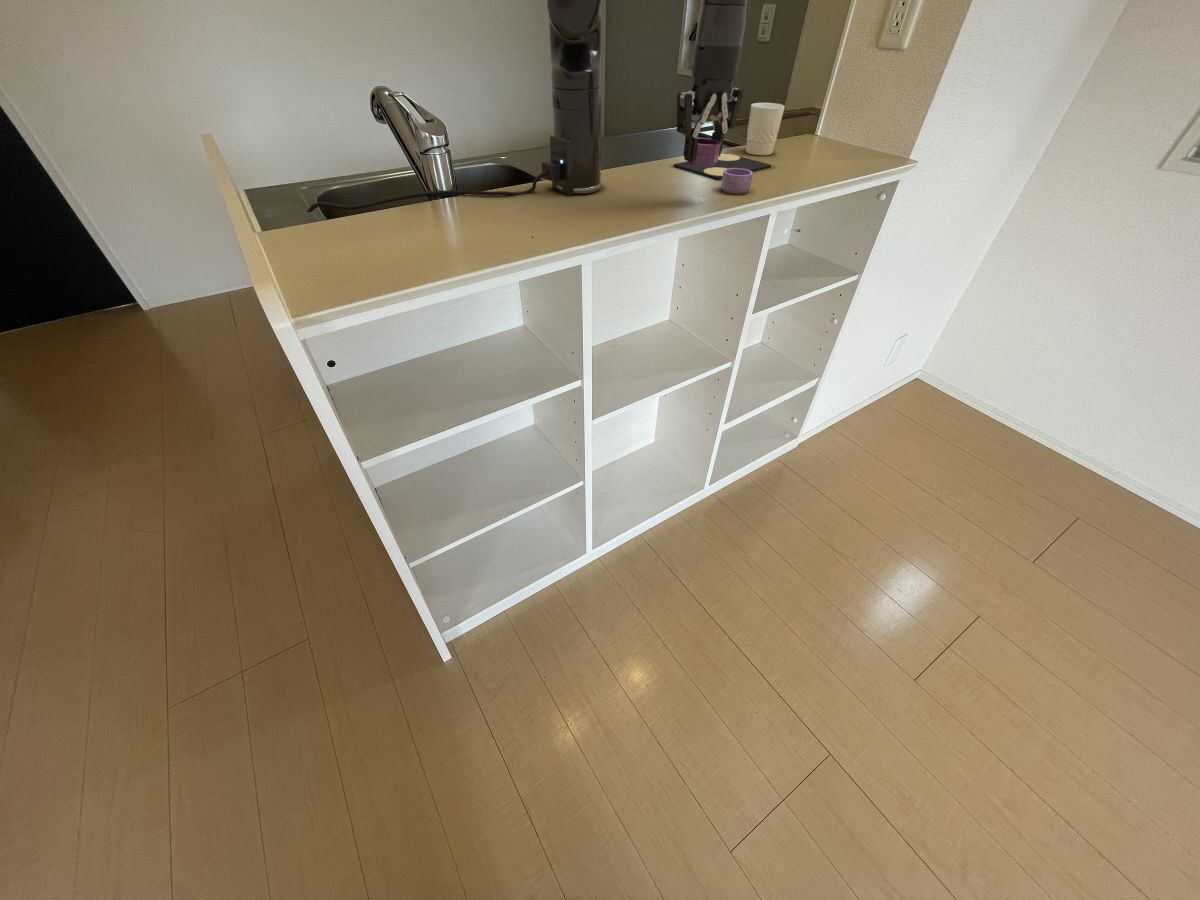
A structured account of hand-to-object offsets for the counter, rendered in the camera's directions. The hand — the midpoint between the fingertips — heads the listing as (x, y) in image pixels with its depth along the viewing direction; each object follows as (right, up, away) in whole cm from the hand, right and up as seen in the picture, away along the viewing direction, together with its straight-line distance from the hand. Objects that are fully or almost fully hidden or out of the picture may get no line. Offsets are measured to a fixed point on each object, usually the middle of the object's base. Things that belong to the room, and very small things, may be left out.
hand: (702, 158), depth 93 cm
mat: (+10, +12, +25) cm, 29 cm away
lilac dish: (+9, 0, +11) cm, 14 cm away
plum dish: (0, -1, +1) cm, 1 cm away
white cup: (+22, +22, +35) cm, 47 cm away
